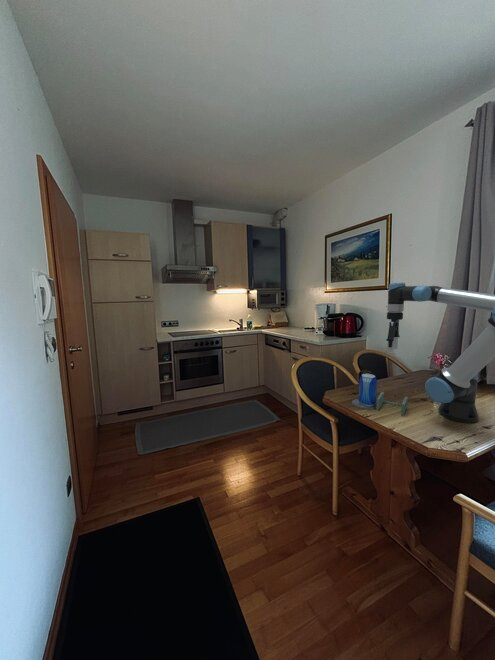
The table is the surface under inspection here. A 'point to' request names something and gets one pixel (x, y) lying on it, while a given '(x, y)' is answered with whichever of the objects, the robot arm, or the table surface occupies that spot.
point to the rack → (381, 400)
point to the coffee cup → (364, 373)
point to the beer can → (367, 390)
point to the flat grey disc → (357, 404)
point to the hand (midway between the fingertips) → (392, 350)
